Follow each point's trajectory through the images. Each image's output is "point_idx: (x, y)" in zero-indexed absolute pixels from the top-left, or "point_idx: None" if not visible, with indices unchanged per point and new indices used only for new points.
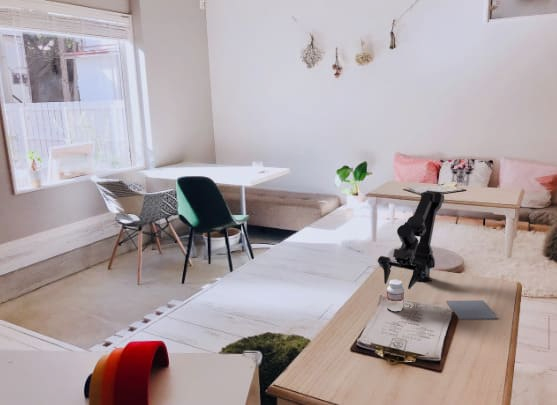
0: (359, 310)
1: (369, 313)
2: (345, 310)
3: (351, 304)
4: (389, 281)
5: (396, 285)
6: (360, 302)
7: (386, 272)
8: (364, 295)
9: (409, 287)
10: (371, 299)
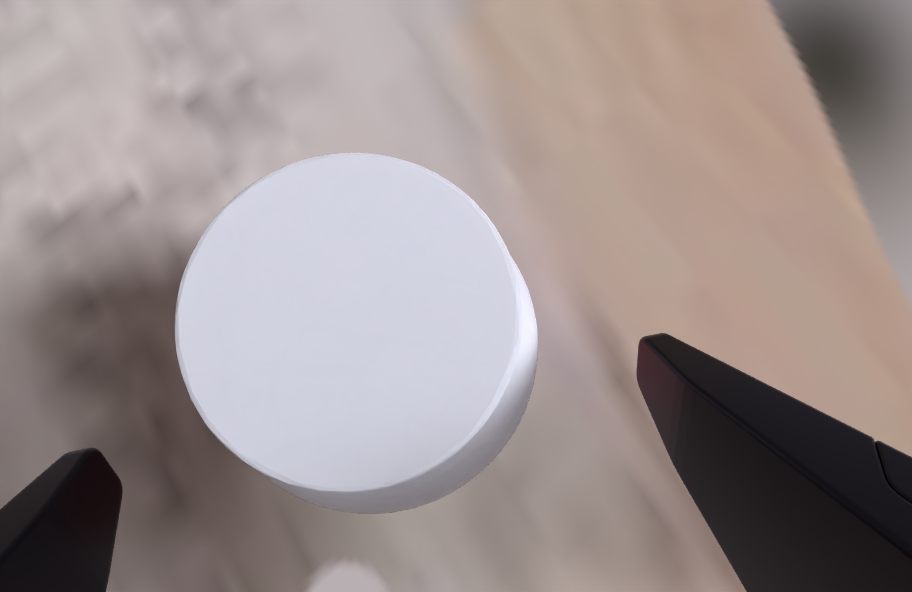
0: (655, 102)
1: (543, 114)
2: (749, 19)
3: (803, 153)
4: (499, 240)
5: (255, 193)
6: (774, 252)
7: (871, 502)
8: (875, 436)
9: (53, 470)
10: None
